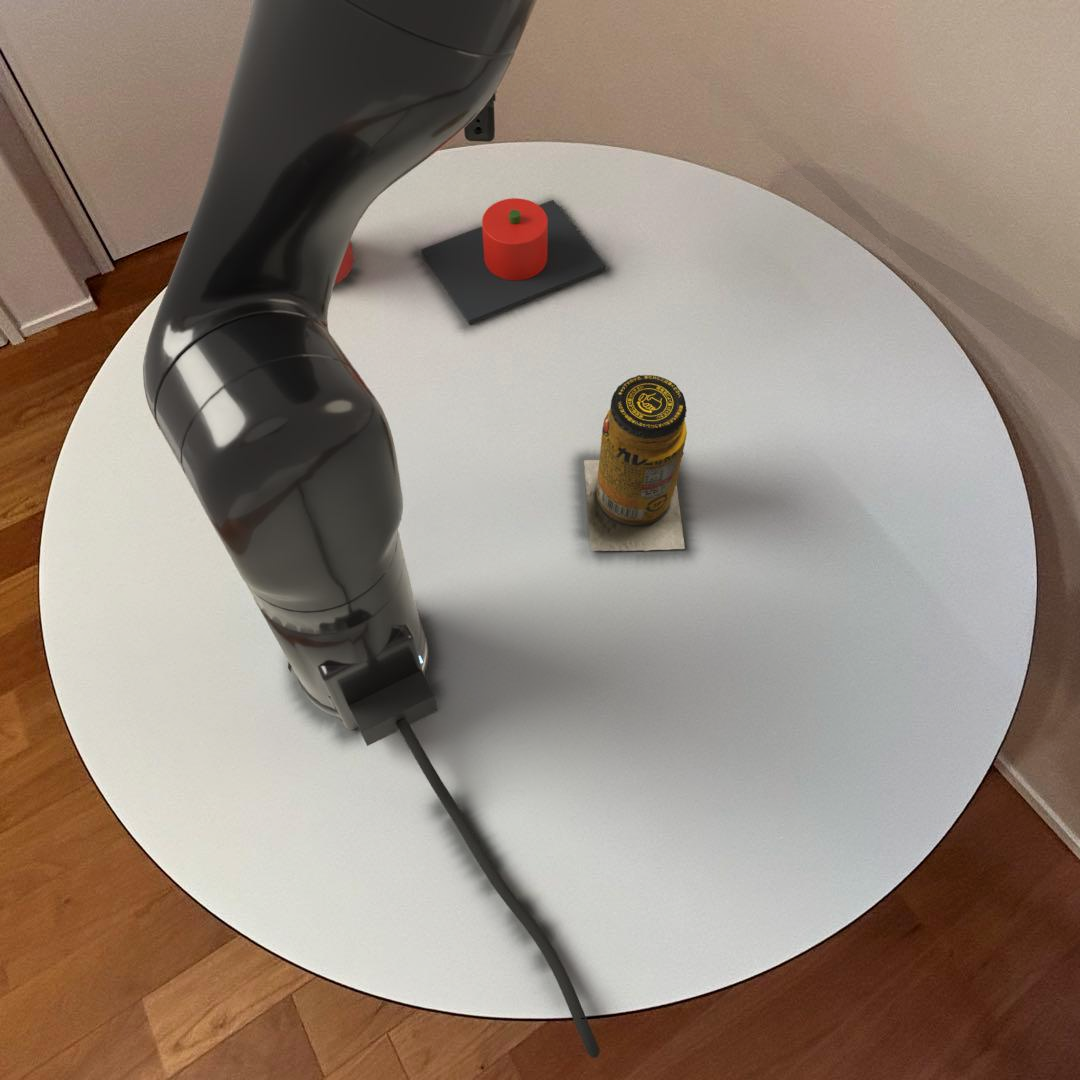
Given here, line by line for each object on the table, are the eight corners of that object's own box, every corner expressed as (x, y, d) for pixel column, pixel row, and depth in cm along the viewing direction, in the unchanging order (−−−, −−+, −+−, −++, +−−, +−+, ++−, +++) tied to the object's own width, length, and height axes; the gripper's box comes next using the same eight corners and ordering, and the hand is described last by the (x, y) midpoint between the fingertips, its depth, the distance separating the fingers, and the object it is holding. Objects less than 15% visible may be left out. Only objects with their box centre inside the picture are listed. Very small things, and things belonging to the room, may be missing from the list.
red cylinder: (558, 267, 90) (559, 222, 85) (502, 289, 88) (500, 245, 84) (528, 227, 92) (528, 182, 88) (473, 248, 91) (470, 203, 86)
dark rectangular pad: (605, 270, 90) (605, 265, 90) (469, 325, 87) (468, 320, 86) (553, 204, 95) (553, 199, 94) (421, 253, 91) (420, 249, 91)
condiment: (673, 459, 80) (693, 362, 69) (684, 550, 75) (708, 461, 65) (583, 462, 80) (590, 365, 69) (590, 552, 75) (598, 464, 65)
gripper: (531, -66, 58) (529, 165, 72) (535, -183, 65) (533, 47, 79) (403, -69, 58) (426, 162, 72) (422, -187, 65) (440, 45, 79)
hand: (482, 102), depth 75 cm, fingers open, 8 cm apart
